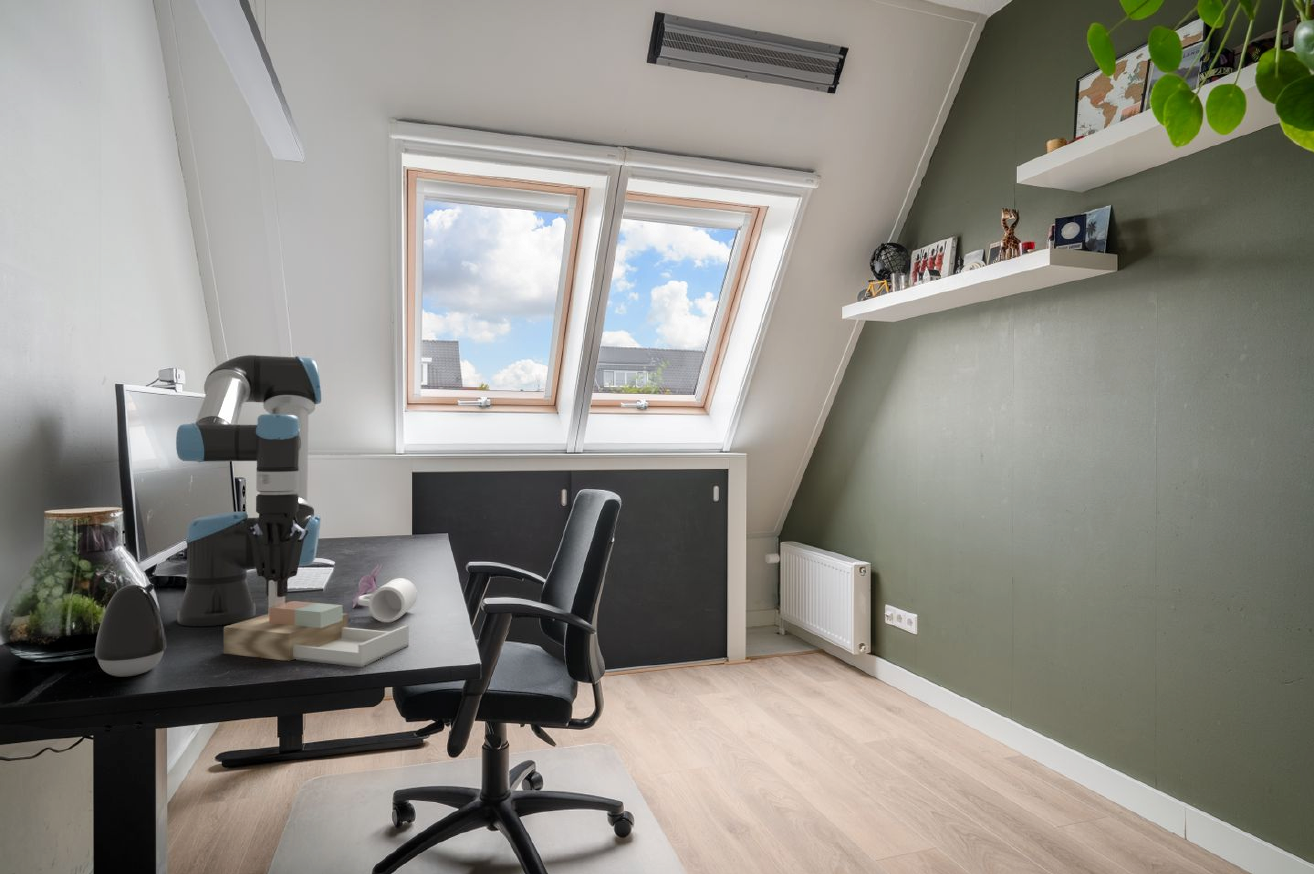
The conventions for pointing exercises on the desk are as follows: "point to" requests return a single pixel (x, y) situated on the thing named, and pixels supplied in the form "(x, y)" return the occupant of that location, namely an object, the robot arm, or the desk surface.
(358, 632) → the tray
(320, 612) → the tile grey
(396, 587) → the mug
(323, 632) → the oak board
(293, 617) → the tile terracotta
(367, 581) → the lily
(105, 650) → the grey egg-shaped pod
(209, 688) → the desk surface
